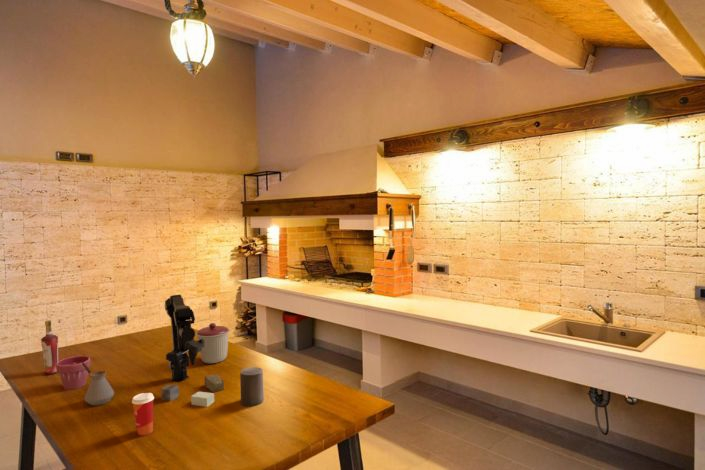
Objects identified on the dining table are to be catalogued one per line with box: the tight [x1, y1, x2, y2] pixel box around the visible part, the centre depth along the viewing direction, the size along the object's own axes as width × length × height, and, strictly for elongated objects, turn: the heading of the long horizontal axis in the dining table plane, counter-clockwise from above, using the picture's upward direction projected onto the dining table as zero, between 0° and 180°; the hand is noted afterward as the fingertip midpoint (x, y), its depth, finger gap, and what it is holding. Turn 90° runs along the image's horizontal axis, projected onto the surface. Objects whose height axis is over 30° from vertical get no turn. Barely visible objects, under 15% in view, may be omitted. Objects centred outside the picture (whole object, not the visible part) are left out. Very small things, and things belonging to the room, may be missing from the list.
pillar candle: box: [239, 366, 265, 407], centre depth 191 cm, size 10×10×15 cm
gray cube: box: [160, 384, 180, 402], centre depth 198 cm, size 5×5×5 cm
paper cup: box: [131, 392, 155, 437], centre depth 168 cm, size 8×8×14 cm
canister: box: [195, 322, 231, 364], centre depth 244 cm, size 18×18×21 cm
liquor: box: [40, 319, 59, 375], centre depth 233 cm, size 7×7×28 cm
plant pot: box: [56, 355, 92, 391], centre depth 214 cm, size 14×14×13 cm
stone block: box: [204, 374, 225, 393], centre depth 208 cm, size 6×12×5 cm, turn 39°
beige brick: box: [190, 391, 215, 408], centre depth 191 cm, size 8×5×4 cm, turn 72°
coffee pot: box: [80, 363, 115, 406], centre depth 199 cm, size 21×12×15 cm, turn 53°
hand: (186, 368), depth 201 cm, fingers open, 9 cm apart
